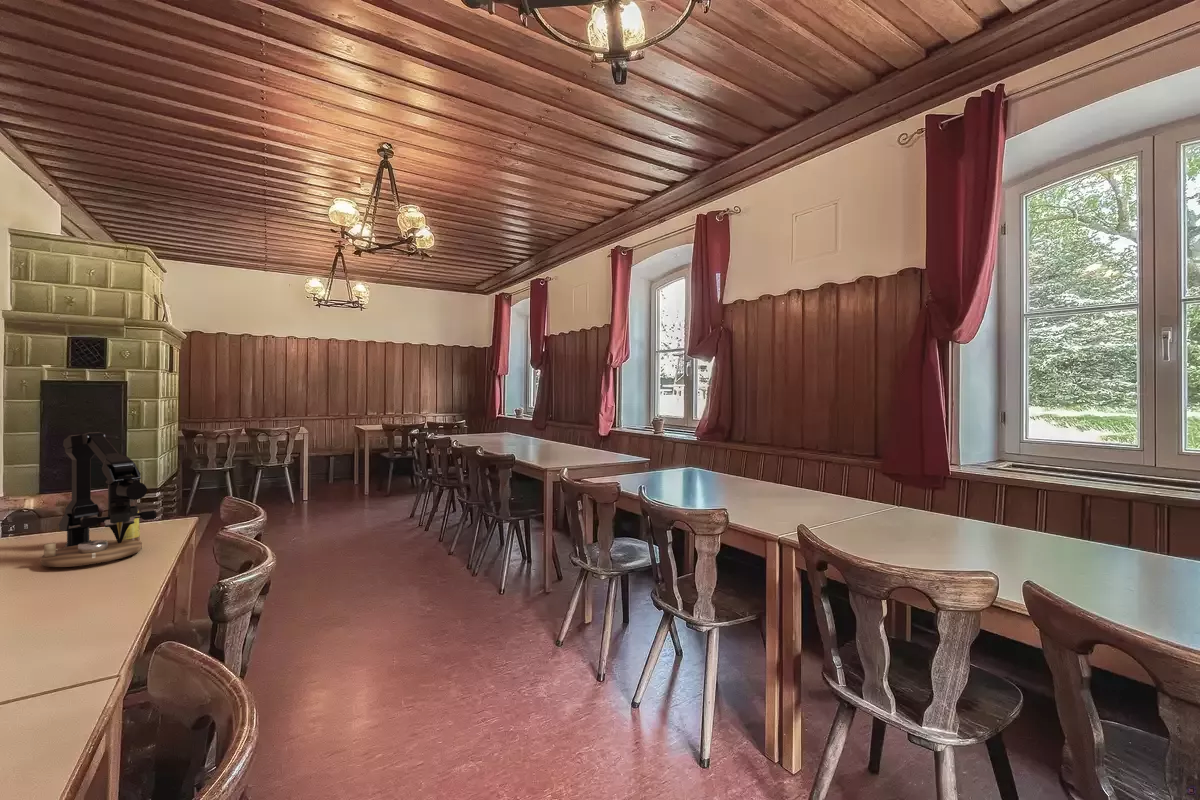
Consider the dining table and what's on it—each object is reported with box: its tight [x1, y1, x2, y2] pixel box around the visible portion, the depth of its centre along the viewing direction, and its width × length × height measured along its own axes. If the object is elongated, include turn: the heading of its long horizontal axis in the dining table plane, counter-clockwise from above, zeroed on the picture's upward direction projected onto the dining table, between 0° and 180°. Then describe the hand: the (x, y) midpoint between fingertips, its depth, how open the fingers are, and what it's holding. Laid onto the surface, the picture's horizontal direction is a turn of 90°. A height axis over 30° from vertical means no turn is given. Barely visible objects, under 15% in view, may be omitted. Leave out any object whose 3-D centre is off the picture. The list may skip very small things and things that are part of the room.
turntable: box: [40, 539, 143, 568], centre depth 172 cm, size 24×24×6 cm
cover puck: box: [78, 539, 109, 554], centre depth 172 cm, size 7×7×2 cm
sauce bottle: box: [117, 499, 141, 541], centre depth 191 cm, size 7×6×20 cm
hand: (119, 542), depth 177 cm, fingers closed
